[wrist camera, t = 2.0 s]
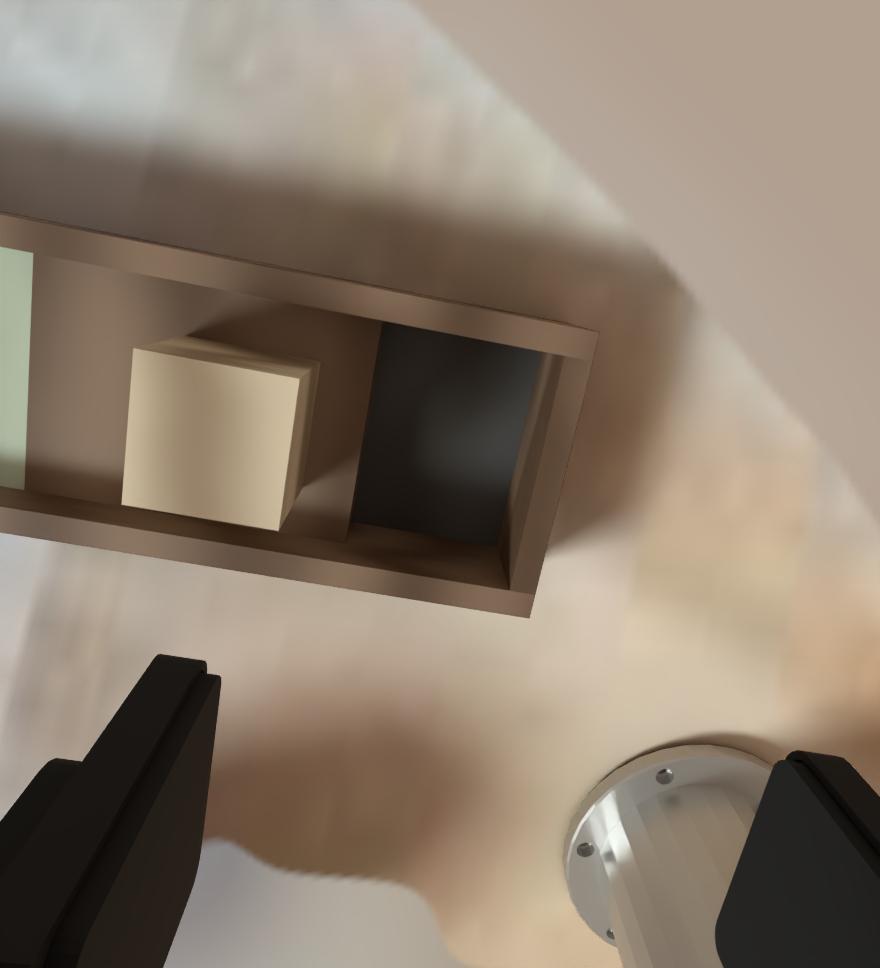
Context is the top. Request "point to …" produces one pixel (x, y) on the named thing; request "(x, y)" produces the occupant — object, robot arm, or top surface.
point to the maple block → (218, 430)
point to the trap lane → (335, 424)
